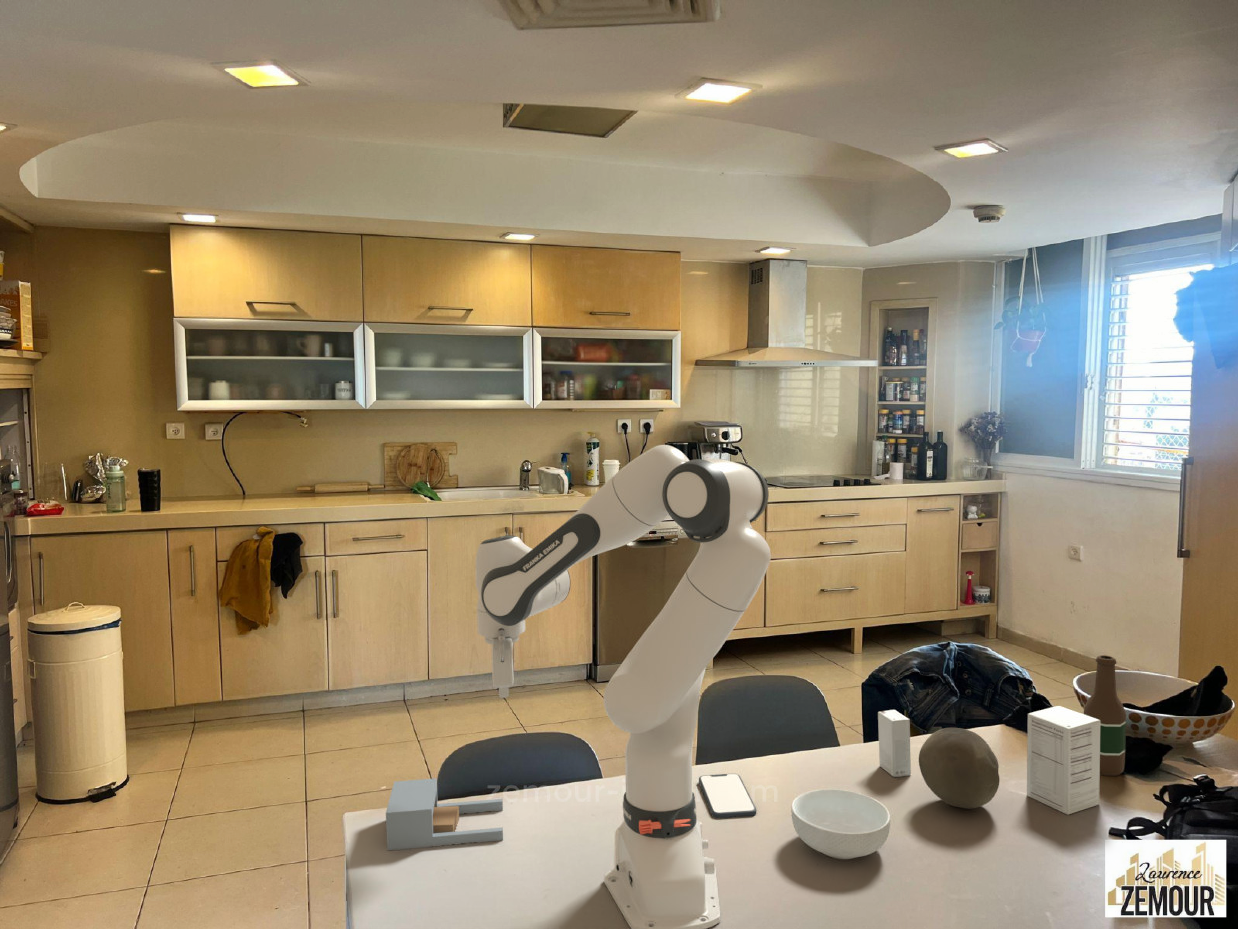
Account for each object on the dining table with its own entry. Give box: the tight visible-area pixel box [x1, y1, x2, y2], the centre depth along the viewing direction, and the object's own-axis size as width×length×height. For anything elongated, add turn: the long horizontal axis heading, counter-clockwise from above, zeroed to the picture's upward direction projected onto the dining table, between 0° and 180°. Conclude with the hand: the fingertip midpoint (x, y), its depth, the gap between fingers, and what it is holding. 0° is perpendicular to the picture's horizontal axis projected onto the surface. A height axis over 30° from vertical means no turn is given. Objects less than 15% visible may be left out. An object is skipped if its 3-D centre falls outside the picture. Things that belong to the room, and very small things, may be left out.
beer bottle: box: [1083, 655, 1127, 777], centre depth 180 cm, size 8×8×24 cm
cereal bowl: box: [790, 788, 891, 860], centre depth 152 cm, size 17×17×7 cm
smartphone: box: [698, 773, 757, 819], centre depth 171 cm, size 9×2×16 cm
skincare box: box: [877, 709, 912, 778], centre depth 181 cm, size 6×4×12 cm
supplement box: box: [1026, 705, 1101, 816], centre depth 167 cm, size 10×9×17 cm
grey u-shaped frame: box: [385, 777, 504, 851], centre depth 161 cm, size 12×20×7 cm, turn 98°
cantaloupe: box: [918, 727, 1000, 810], centre depth 165 cm, size 14×14×15 cm
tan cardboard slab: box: [433, 806, 460, 833], centre depth 161 cm, size 7×10×3 cm
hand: (504, 695), depth 161 cm, fingers closed
